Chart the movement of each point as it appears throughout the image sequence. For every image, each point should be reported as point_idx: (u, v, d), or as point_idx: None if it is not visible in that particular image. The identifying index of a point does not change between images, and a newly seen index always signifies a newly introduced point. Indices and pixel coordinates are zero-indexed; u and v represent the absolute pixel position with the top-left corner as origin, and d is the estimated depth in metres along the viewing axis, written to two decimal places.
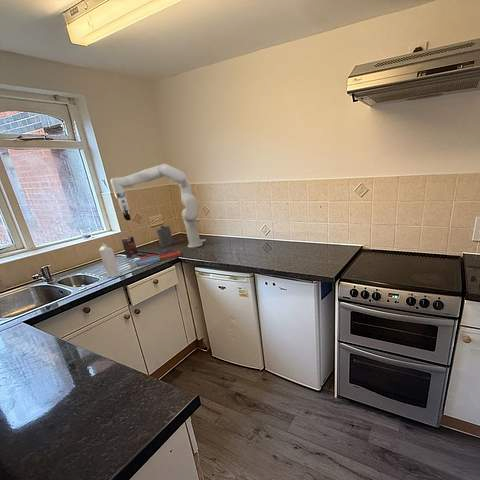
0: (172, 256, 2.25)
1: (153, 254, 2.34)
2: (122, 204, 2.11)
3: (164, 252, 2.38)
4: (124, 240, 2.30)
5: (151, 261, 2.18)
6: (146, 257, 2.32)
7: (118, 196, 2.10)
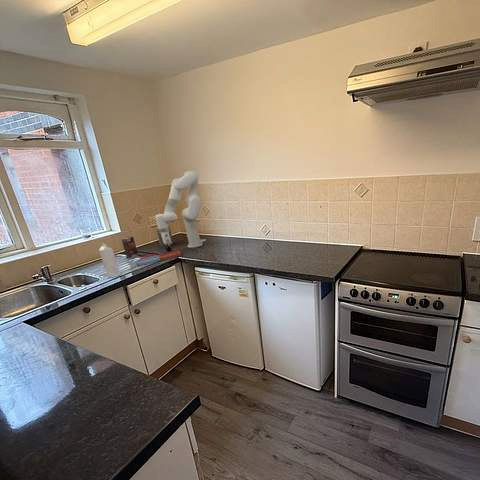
0: (172, 256, 2.25)
1: (153, 254, 2.34)
2: (165, 238, 2.32)
3: (164, 252, 2.38)
4: (124, 240, 2.30)
5: (151, 261, 2.18)
6: (146, 257, 2.32)
7: (162, 231, 2.31)
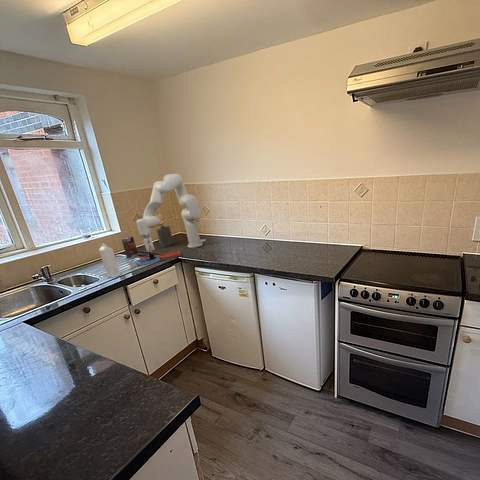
0: (172, 256, 2.25)
1: None
2: (148, 244, 2.14)
3: (147, 259, 2.20)
4: (124, 240, 2.30)
5: (151, 261, 2.18)
6: (146, 257, 2.32)
7: (144, 237, 2.13)
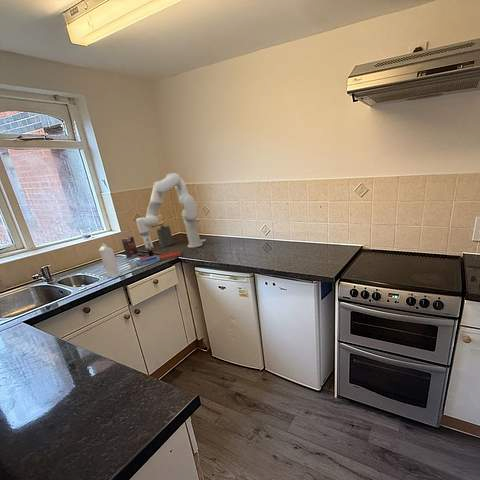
0: (172, 256, 2.25)
1: (153, 254, 2.34)
2: (147, 242, 2.25)
3: (147, 260, 2.21)
4: (124, 240, 2.30)
5: (151, 261, 2.18)
6: (146, 257, 2.32)
7: (143, 235, 2.24)
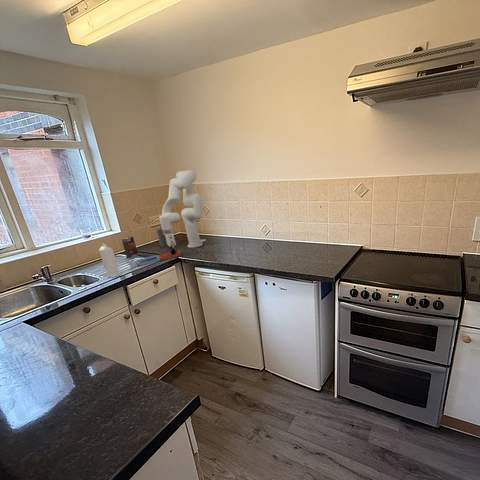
0: (172, 256, 2.25)
1: None
2: (170, 240, 2.21)
3: (147, 260, 2.21)
4: (124, 240, 2.30)
5: (151, 261, 2.18)
6: (168, 255, 2.28)
7: (166, 232, 2.20)
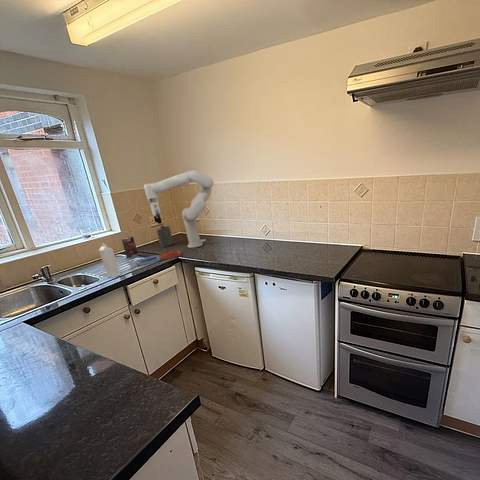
0: (172, 256, 2.25)
1: (175, 252, 2.30)
2: (154, 208, 2.25)
3: (147, 260, 2.21)
4: (124, 240, 2.30)
5: (151, 261, 2.18)
6: (169, 255, 2.28)
7: (151, 201, 2.24)
